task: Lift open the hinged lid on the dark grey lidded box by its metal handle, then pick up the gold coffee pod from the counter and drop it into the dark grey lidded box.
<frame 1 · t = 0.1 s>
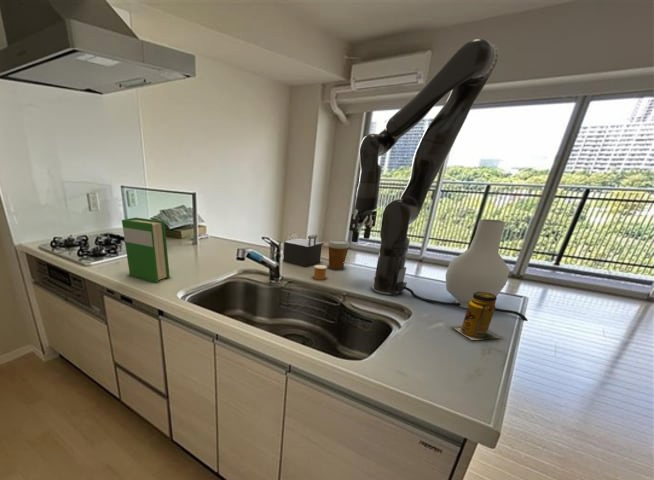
hand: (360, 240, 130), 17 cm above the worktop, tool pointing down, fingers open, 8 cm apart
disposable coffee cup: (335, 267, 156), on the worktop
dark grey lidded box: (301, 261, 165), on the worktop
condiment: (475, 334, 97), on the worktop
coffee pod: (319, 278, 143), on the worktop
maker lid: (303, 238, 160), point 11 cm above the worktop, hinge at 0.0°
hardback book: (149, 277, 148), on the worktop
vase: (466, 305, 115), on the worktop
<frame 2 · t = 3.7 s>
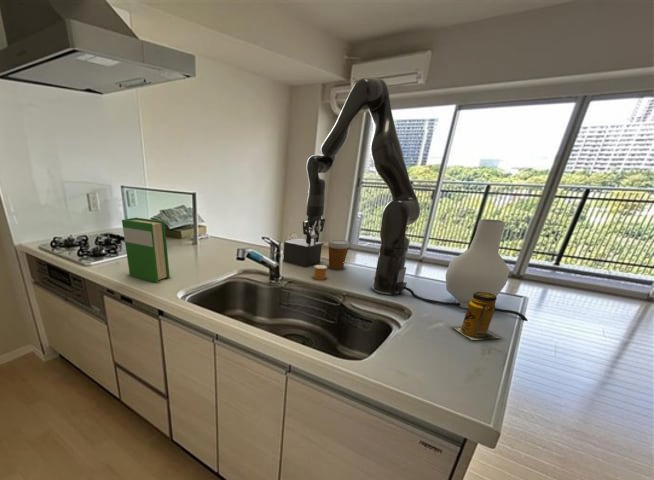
hand: (312, 242, 157), 10 cm above the worktop, tool pointing down, fingers closed on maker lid, 5 cm apart
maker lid: (303, 238, 160), point 11 cm above the worktop, hinge at 0.0°, touching gripper
everything else where it was.
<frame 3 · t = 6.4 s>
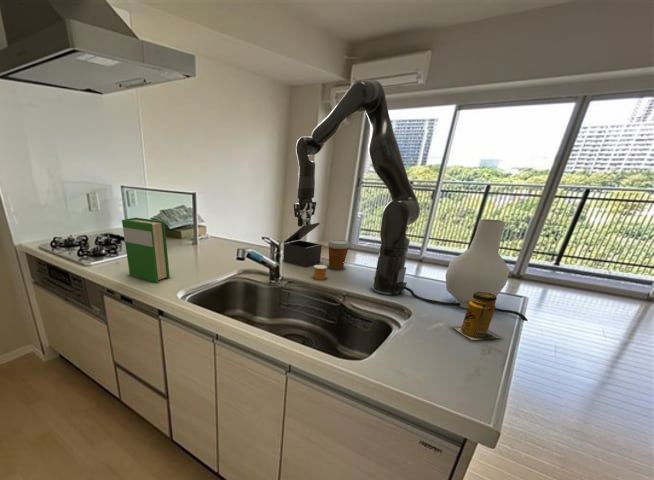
hand: (304, 225, 158), 17 cm above the worktop, tool pointing down, fingers closed on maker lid, 5 cm apart
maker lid: (299, 229, 161), point 15 cm above the worktop, hinge at 39.2°, touching gripper
everything else where it was.
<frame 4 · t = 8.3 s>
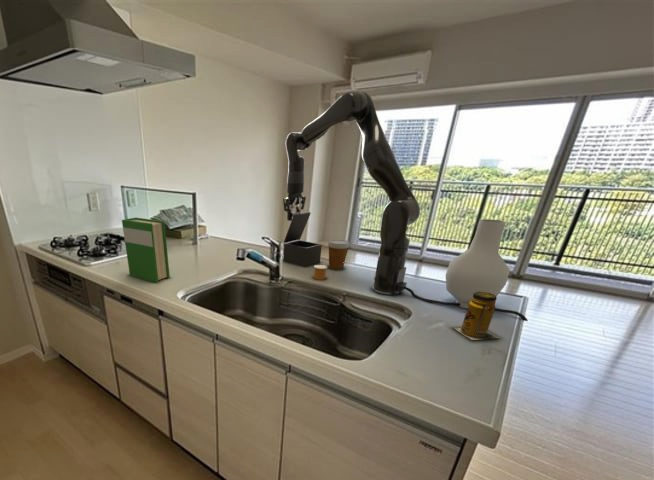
hand: (293, 219, 162), 19 cm above the worktop, tool pointing down, fingers closed on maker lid, 5 cm apart
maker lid: (293, 225, 162), point 17 cm above the worktop, hinge at 68.4°, touching gripper
everything else where it was.
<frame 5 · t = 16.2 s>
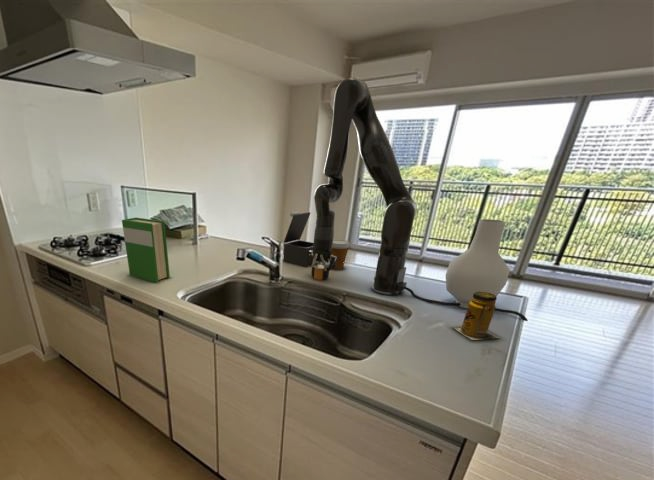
hand: (319, 277, 142), 0 cm above the worktop, tool pointing down, fingers closed on coffee pod, 5 cm apart
coffee pod: (319, 278, 143), on the worktop, touching gripper
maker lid: (293, 225, 163), point 17 cm above the worktop, hinge at 68.8°
everything else where it was.
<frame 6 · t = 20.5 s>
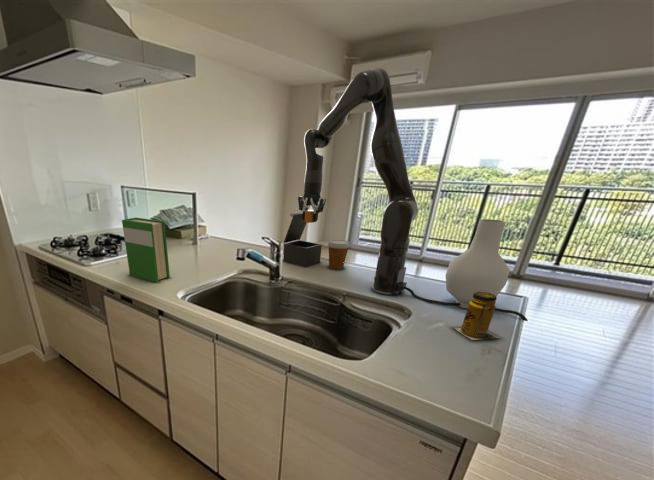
hand: (309, 220, 154), 20 cm above the worktop, tool pointing down, fingers closed on coffee pod, 5 cm apart
coffee pod: (309, 221, 154), point 20 cm above the worktop, touching gripper
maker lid: (293, 225, 163), point 17 cm above the worktop, hinge at 68.8°, touching gripper
everything else where it was.
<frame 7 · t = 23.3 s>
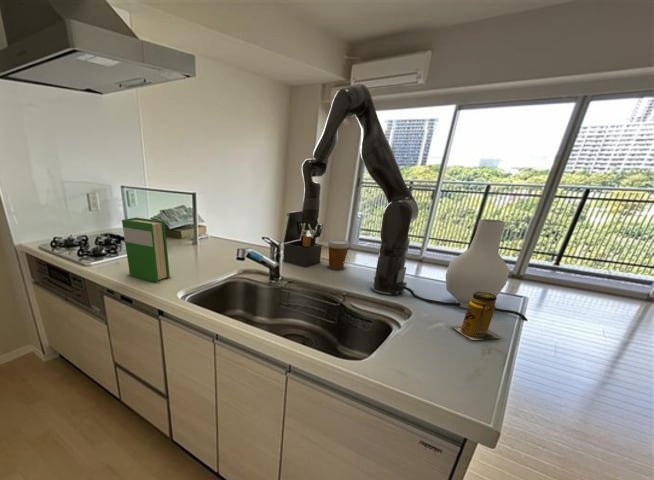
hand: (307, 244, 159), 9 cm above the worktop, tool pointing down, fingers closed on coffee pod, 5 cm apart
coffee pod: (307, 245, 160), point 8 cm above the worktop, touching gripper
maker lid: (291, 225, 163), point 17 cm above the worktop, hinge at 79.5°
everything else where it was.
when the fingers open (9 cm above the worktop, at t = 23.5 s): coffee pod drops 8 cm, resting on dark grey lidded box.
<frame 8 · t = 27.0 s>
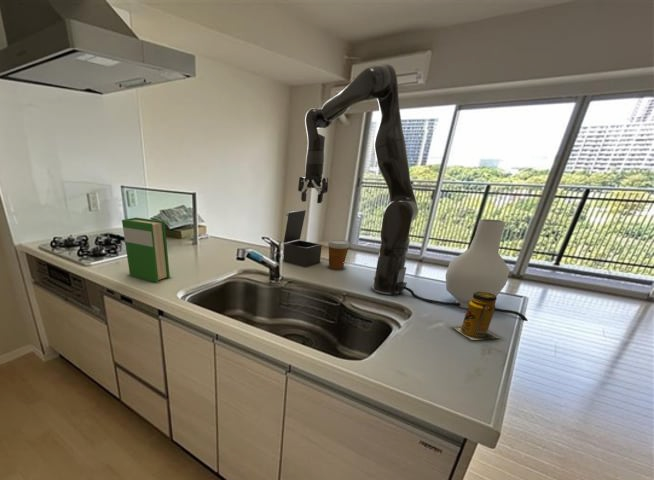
hand: (311, 202, 151), 28 cm above the worktop, tool pointing down, fingers open, 8 cm apart
coffee pod: (306, 261, 163), point 1 cm above the worktop, touching dark grey lidded box
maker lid: (291, 225, 164), point 17 cm above the worktop, hinge at 81.0°
everything else where it was.
at the end: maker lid at +81° (first picture: +0°); coffee pod inside the target area in the dark grey lidded box (3.1 cm from its centre), point 0.8 cm above the dark grey lidded box's base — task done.
